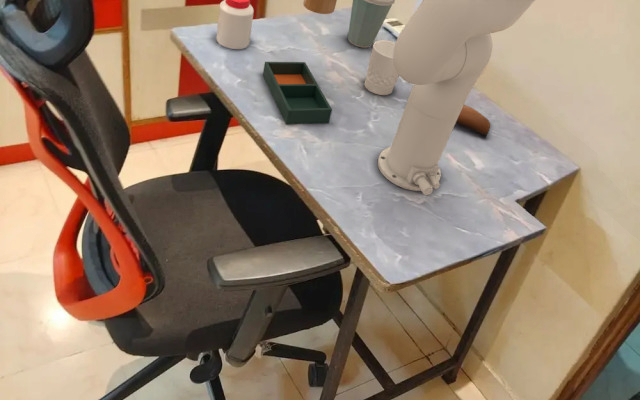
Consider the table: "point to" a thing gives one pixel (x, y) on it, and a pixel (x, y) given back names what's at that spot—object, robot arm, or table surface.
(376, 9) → the disposable coffee cup
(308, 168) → the table surface
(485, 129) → the sunglasses case
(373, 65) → the white cup
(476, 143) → the table surface
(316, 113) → the divided tray
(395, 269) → the table surface
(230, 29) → the pill bottle
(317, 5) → the wooden cup
